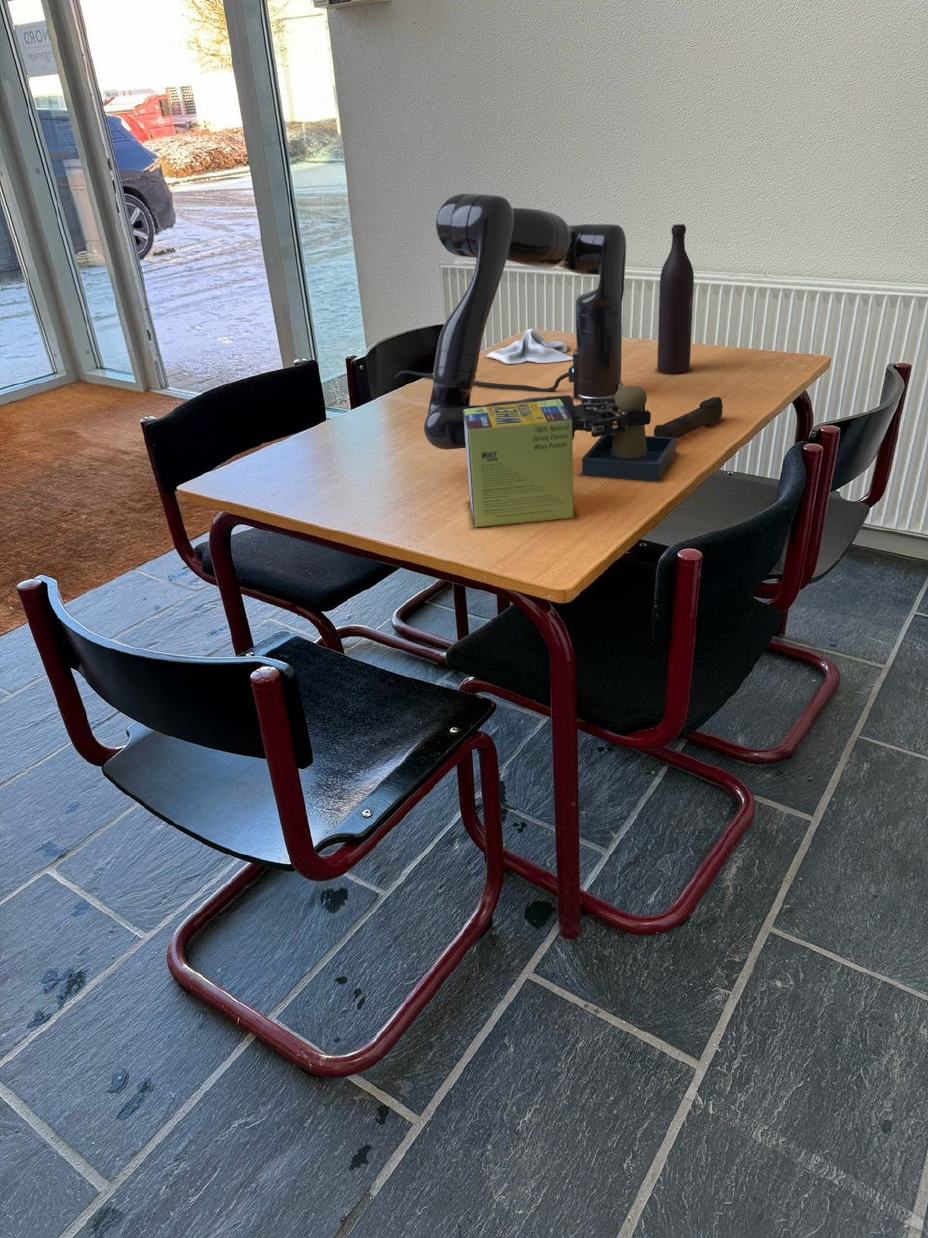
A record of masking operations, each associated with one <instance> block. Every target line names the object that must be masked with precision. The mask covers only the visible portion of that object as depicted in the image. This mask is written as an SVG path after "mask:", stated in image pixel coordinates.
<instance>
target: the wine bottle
mask: <svg viewBox="0 0 928 1238" xmlns="http://www.w3.org/2000/svg"><path fill="white" fill-rule="evenodd" d="M686 233H687V227H686V224H685V223H684V224H683V223H682V224H681V223H680V224H673V225H672V227H671V237H672V239H671V247H670V251H669V254H668V255H667V258H666V260H665V261H664V264H663V266H662V268H661V272H660V277H659V278H660V279H659V293H658V294H659V297H658V298H659V300H658V330H657V332H658V333H657V363H656V364H657V366H656V367H657V371H658V372H660V373H662V374H668V375H678V374H683V373H686V372H688V371H689V370H690V368H691V349H692V331H693V330H692V328H693V308H694V305H693V304H694V285H695V279H694V278H695V276H694V269H693V268H694V267H693V265H692V262H691V260H690V257H689V256H688V253H687V251H686V244H685V240H686V239H685V237H686Z"/></svg>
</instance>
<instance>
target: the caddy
mask: <svg viewBox="0 0 928 1238" xmlns="http://www.w3.org/2000/svg"><path fill="white" fill-rule="evenodd" d="M613 437H614V434H609V435H604V436H599V438H598V439H597V440H596V441H595V443H594V444H593V445H592V446H591V447H590V448H589V450H588V451H587V452H586V453H585V454H584V456H582V458H581V474H582V476H589V477H601V478H611V479H624V480H636V481H649V482H660V480H661V478H662V477H663V475H664V473H665V472H666V471H667V469H668V467H669V466H670V464H671V463H672V461H673V459H674V458H675V456H676V454H677V439H676V438H671V437H655V436H654V435H646V444H647V454H646V455H644V456H642V457H638V458H620V457H616V456H614V455H613V454H612V453H611V450H612V444H613Z"/></svg>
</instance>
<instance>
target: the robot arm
mask: <svg viewBox="0 0 928 1238" xmlns="http://www.w3.org/2000/svg"><path fill="white" fill-rule="evenodd" d="M435 229H436V234H437V237H438V239H439V241H440V243H441V245H442V247H444V249H446V251H448V252H449V253H451V254H453V255H455V256H458V257H464V258H465V257H466V258H475V259H476V261H475V267H474V271H473V274H472V277H471V279H470V282H469V284H468V287H467V288H466V290H465V292H464V294H463V296H462V297H461V299H460V300H459V301H458V302H457V304H456V306H455V307H454V309H453V310H452V311H451V313H450V315H449V316H448V318H447V319H446V321H445V322H444V324H443V326H442V329H441V330H440V333H439V336H438V340H437V346H436V352H435V358H434V366H433V372H432V373H430V372H429V373H427V372H418V371H414V370H401V371H400V372H398V373H397V374H396V375H395V376H394V379H399V378H400V377H402V376H404V375H409V376H415V377H420V378H432V383H433V384H432V388H431V389H432V390H431V394H430V399H429V404H428V409H427V414H426V418H425V421H424V424H423V430H424V431H423V432H424V436H425V438H426V440H427V441H428V443H429V444H431V446H433V447H434V448H437V449H439V450H447V451H448V450H461V449H466V443H465V430H464V417H463V410H464V409H470V408H479V407H489V406H499V405H507V404H517V403H528V402H538V401H547V400H556V399H560V400H561V401H562V403H563V405H564V406H565V408H566V410H567V411H568V413H569V415H570V416H571V418H572V441H574V439H575V434H576V431H581V432H582V431H583V432H586V433H590V435H591V437H592V438H598V437H601V436H604V435H609V434H615V433H620V432H625V428H627V425H628V426H635V425H645V426H648V425H650V424H651V418H652V413H651V411H650V410H648V409H646V405H645V406H644V407H643V411H629V412H625V411H623V412H618V407H617V406H616V403H615V394H616V392H617V391H618V390H619V389H620V388H622V387H624V386H623V384H624V383H623V380H622V352H623V351H622V348H623V347H622V346H623V345H622V344H623V342H622V341H623V340H622V339H623V300H624V293H625V284H626V283H625V279H626V266H627V265H626V263H627V237H626V233H625V231H624V229H623V228H622V226H621V225H618V224H615V223H614V224H608V223H601V224H600V223H598V224H597V223H587V224H586V223H583V224H573V225H571V224H570V225H569V224H568V223H567V221H566V220H565V219H564V218H563V217H561V216H560V215H558V214H555V213H553V212H550V211H546V210H542V209H536V208H528V207H527V208H525V207H512V205H511V203H510V201H509V200H508V199H507V198H505V197H504V196H500V195H494V194H482V193H480V194H479V193H459V194H455V195H453V196H451V197H449V198H448V199H446V200H445V201H444V202H443V203H442V204H441V206H440V208H439V210H438V211H437V215H436V220H435ZM507 261H509V262H512V263H515V264H520V265H523V266H528V267H533V268H539V269H551V268H555V267H559V268H562V269H564V270H567V271H569V272H572V273H574V274H577V275H581V276H582V275H583V276H599V281H598V286H597V287H596V288H595V289H592V290H590V291H587V292H584V293H581V294H580V295H578V296H577V297H576V299H575V347H576V349H575V350H574V351H573V353H572V357H573V360H572V365H571V366H570V367H569V368H568V372H565V373H562V374H561V375H560V376H558V377H557V378H556V380H555V382H554V384H553V386H551V387H546V388H545V387H544V388H543V387H536V386H531V385H526V384H509V383H496V382H495V383H494V382H485V381H479V380H476V378H477V377H476V376H477V372H478V367H479V361H480V354H481V348H482V342H483V338H484V333H485V329H486V327H487V326H486V325H487V322H488V319H489V315H490V313H491V309H492V306H493V303H494V301H495V297H496V295H497V291H498V288H499V285H500V283H501V279H502V275H503V273H504V269H505V266H506V263H507ZM566 378H568V383H572V384H573V397H572V396H571V395H569V394H566V395H552V396H539V397H538V396H537V397H527V398H522V399H517V400H504V401H501V400H500V401H493V402H487V403H484V404H477V405H475V404H473V405H470V404H471V397H472V396H471V395H472V390H473V388H474V386H480V387H487V388H495V389H514V390H527V391H531V392H542V393H544V392H545V393H546V392H547V393H551V392H554V391H555V390H557V388H558V387H559V385H560V382H561V381H563V380H565V379H566ZM573 399H580V401H581V402H580V403H579V404H575V403H574V400H573ZM616 421H618V423H616Z"/></svg>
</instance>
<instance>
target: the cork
mask: <svg viewBox="0 0 928 1238" xmlns="http://www.w3.org/2000/svg"><path fill="white" fill-rule="evenodd" d="M647 401H648V396H647V392H646V390H645V389H644V388H643V387H640V386H636V385H629V386H628V385H627V386H623V387H622V388H620V389H619V390H618V391H617V392H616V394H615V403H616V406H617V407H618V412H623V411H625V412H629V411H643V407H644V406H645V407H646V404H647ZM615 423H618V421H616V422H615ZM646 436H647V435H646V425H635V426H628V425H627V428H625V432H620V433H615V434H614V437H613V444H612V450H611V453H612V454H613V455H614V456H616V457H620V458H638V457H642V456H644V455H646V454H647V444H646Z"/></svg>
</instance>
